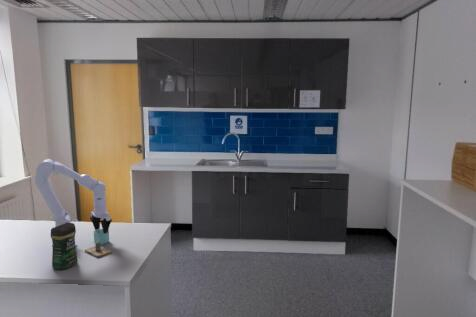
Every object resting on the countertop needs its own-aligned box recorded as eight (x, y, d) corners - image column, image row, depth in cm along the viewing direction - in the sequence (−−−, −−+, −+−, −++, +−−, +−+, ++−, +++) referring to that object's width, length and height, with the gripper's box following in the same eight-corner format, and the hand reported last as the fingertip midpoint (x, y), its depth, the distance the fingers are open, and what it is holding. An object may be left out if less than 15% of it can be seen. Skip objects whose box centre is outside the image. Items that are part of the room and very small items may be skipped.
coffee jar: (63, 272, 136) (61, 229, 134) (48, 269, 139) (46, 227, 136) (81, 262, 146) (78, 222, 143) (66, 259, 148) (64, 220, 145)
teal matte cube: (94, 242, 167) (93, 231, 166) (103, 239, 171) (102, 228, 170) (99, 244, 164) (99, 233, 163) (109, 241, 168) (108, 230, 167)
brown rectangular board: (84, 251, 156) (84, 241, 155) (98, 247, 162) (98, 237, 161) (97, 258, 150) (97, 247, 149) (111, 252, 155) (111, 242, 154)
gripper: (115, 206, 164) (116, 232, 166) (99, 201, 172) (100, 226, 174) (102, 209, 158) (104, 236, 160) (86, 204, 167) (88, 229, 169)
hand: (101, 231), depth 167 cm, fingers open, 7 cm apart
